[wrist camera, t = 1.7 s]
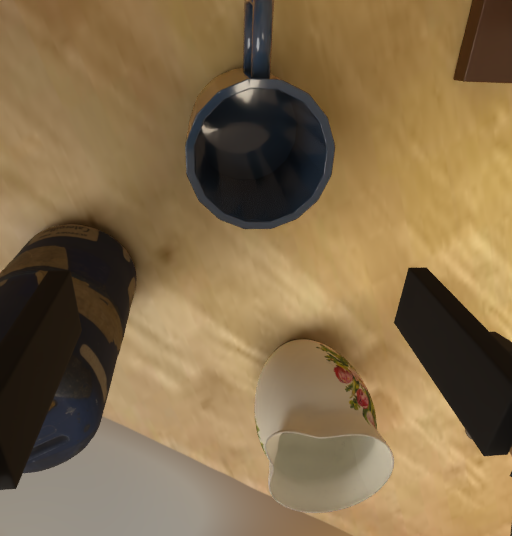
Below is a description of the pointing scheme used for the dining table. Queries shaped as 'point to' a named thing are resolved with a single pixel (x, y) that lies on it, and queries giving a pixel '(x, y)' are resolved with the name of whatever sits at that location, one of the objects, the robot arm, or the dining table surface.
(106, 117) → the dining table surface
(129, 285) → the canister
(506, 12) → the cup holder
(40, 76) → the dining table surface
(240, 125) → the mug
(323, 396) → the pitcher
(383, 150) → the dining table surface
